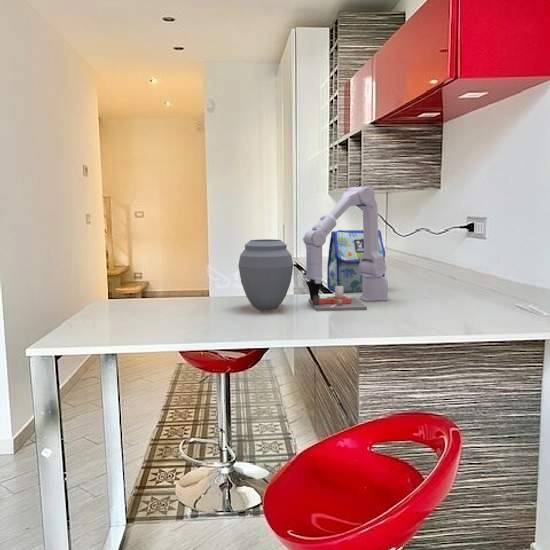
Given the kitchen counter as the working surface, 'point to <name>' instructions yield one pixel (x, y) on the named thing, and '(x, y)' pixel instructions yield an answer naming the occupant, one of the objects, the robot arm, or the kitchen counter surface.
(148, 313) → the kitchen counter surface
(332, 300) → the square frame with handle
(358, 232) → the lunch bag
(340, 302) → the tan tapered cylinder
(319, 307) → the station
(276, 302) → the vase
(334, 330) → the kitchen counter surface
